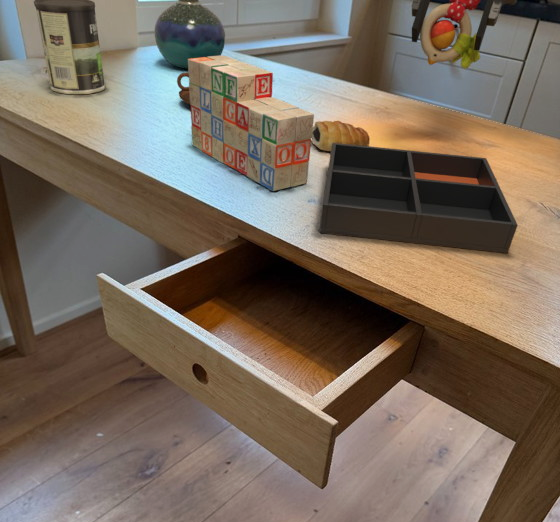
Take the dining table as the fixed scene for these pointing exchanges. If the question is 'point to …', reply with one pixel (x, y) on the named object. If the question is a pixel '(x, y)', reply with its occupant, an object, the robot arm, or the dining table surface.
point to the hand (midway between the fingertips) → (445, 39)
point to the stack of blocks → (248, 122)
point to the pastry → (337, 134)
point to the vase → (188, 33)
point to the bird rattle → (450, 34)
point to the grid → (415, 198)
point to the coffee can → (71, 45)
